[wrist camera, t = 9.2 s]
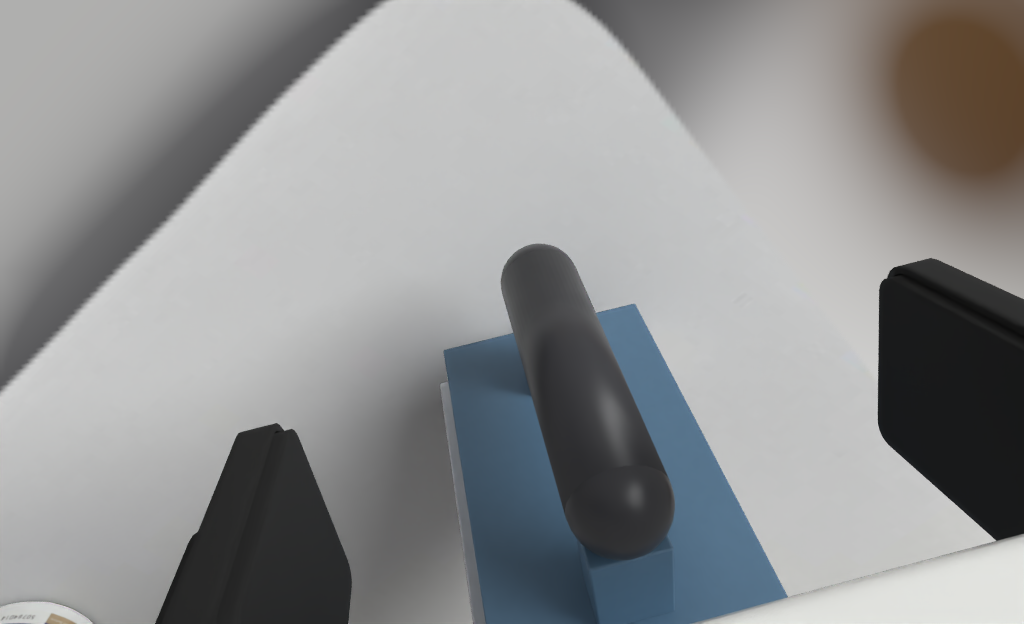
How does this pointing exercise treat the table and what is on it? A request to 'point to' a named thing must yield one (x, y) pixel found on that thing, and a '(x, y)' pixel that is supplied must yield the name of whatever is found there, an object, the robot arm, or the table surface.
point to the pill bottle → (40, 614)
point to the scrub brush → (588, 470)
